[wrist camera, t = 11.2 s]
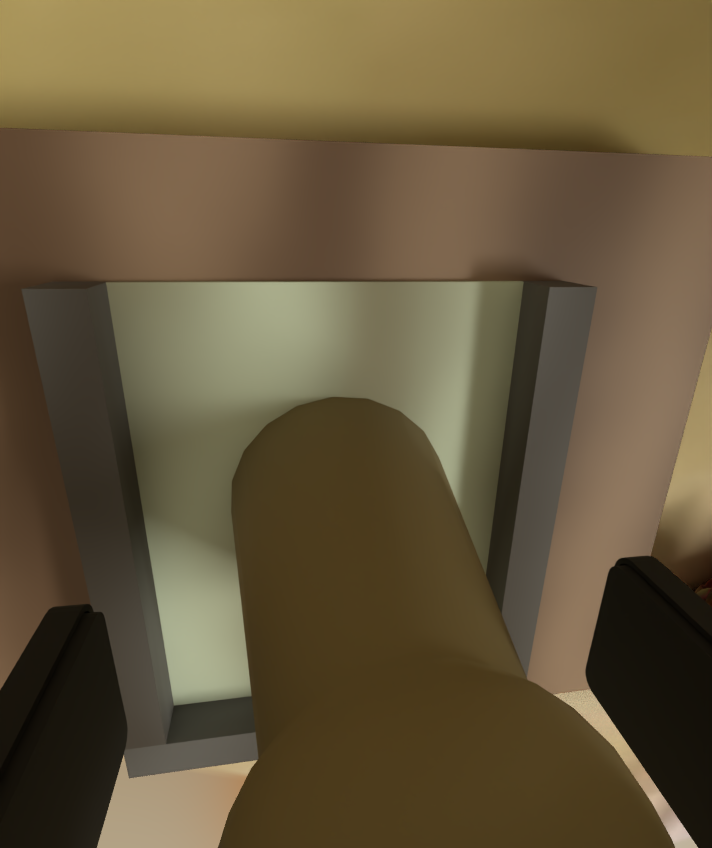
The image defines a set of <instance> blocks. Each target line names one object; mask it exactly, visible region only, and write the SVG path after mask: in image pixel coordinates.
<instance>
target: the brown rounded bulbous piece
mask: <svg viewBox="0 0 712 848" xmlns="http://www.w3.org/2000/svg"><path fill="white" fill-rule="evenodd" d="M231 515H232V524H233V533H234V542H235V551H236V560H237V569H238V578H239V587H240V596H241V605H242V614H243V623H244V632H245V641H246V650H247V659H248V668H249V677H250V686H251V695H252V704H253V713H254V722H255V731H256V740H257V750H258V761H257V762H256V763H255V764H254V766H253V767H252V768H251V770H250V772H249V774H248V776H247V778H246V780H245V782H244V784H243V786H242V788H241V790H240V792H239V794H238V796H237V798H236V800H235V802H234V804H233V806H232V808H231V810H230V812H229V815H228V818H227V821H226V824H225V827H224V830H223V834H222V837H221V840H220V843H219V846H218V848H675V846H674V844H673V842H672V839H671V837H670V835H669V834H668V832H667V830H666V828H665V826H664V825H663V823H662V821H661V819H660V817H659V815H658V814H657V812H656V810H655V808H654V806H653V804H652V803H651V801H650V800H649V798H648V797H647V795H646V794H645V792H644V791H643V789H642V788H641V786H640V785H639V783H638V782H637V781H636V779H635V778H634V776H633V775H632V773H631V772H630V770H629V769H628V767H627V766H626V764H625V763H624V761H623V760H622V758H621V757H620V756H619V754H618V753H617V751H616V750H615V748H614V747H613V746H612V745H611V744H610V743H609V742H608V741H607V740H606V739H605V738H604V737H603V736H602V735H601V734H600V733H599V732H598V731H597V730H596V729H594V728H593V727H592V726H591V725H590V724H589V723H588V722H587V721H586V720H585V719H584V718H583V717H582V716H581V715H580V714H579V713H578V712H577V711H576V710H575V709H574V708H572V707H571V706H569V705H568V704H566V703H565V702H563V701H562V700H560V699H559V698H557V697H556V696H554V695H553V694H551V693H550V692H548V691H547V690H545V689H544V688H542V687H541V686H539V685H538V684H536V683H534V682H531V681H529V680H527V677H526V675H525V672H524V670H523V667H522V665H521V662H520V659H519V657H518V654H517V652H516V649H515V647H514V644H513V642H512V639H511V637H510V634H509V632H508V629H507V627H506V624H505V622H504V619H503V617H502V614H501V612H500V609H499V607H498V604H497V602H496V599H495V597H494V594H493V592H492V589H491V587H490V584H489V582H488V579H487V577H486V574H485V572H484V569H483V567H482V564H481V562H480V559H479V557H478V554H477V552H476V549H475V547H474V544H473V542H472V539H471V537H470V534H469V532H468V529H467V527H466V524H465V522H464V519H463V517H462V514H461V512H460V509H459V507H458V504H457V502H456V499H455V497H454V494H453V491H452V489H451V486H450V484H449V481H448V479H447V476H446V474H445V471H444V469H443V466H442V464H441V461H440V459H439V457H438V455H437V453H436V451H435V450H434V448H433V446H432V444H431V443H430V441H429V439H428V437H427V436H426V434H425V432H424V431H423V430H422V429H421V428H420V427H418V426H417V425H416V424H415V423H414V422H413V421H411V420H410V419H409V418H408V417H407V416H405V415H404V414H403V413H402V412H401V411H399V410H396V409H394V408H391V407H389V406H386V405H383V404H381V403H378V402H376V401H373V400H370V399H364V398H345V397H330V398H326V399H322V400H318V401H314V402H310V403H306V404H302V405H299V406H296V407H295V408H293V409H291V410H290V411H288V412H286V413H285V414H283V415H281V416H280V417H278V418H276V419H275V420H273V421H272V422H270V423H268V424H267V425H266V426H265V427H264V428H263V429H262V430H261V431H260V433H259V434H258V435H257V436H256V437H255V438H254V440H253V441H252V442H251V443H250V444H249V445H248V447H247V448H246V449H245V450H244V452H243V454H242V457H241V459H240V462H239V464H238V467H237V469H236V472H235V474H234V477H233V479H232V497H231Z"/></svg>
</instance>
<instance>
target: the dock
mask: <svg viewBox="0 0 712 848" xmlns="http://www.w3.org/2000/svg"><path fill="white" fill-rule="evenodd" d="M711 328H712V157H706V156H681V155H656V154H632V153H607V152H583V151H558V150H534V149H509V148H484V147H460V146H435V145H411V144H386V143H362V142H337V141H313V140H288V139H263V138H239V137H214V136H190V135H165V134H141V133H116V132H92V131H67V130H42V129H18V128H0V690H1V688H2V686H3V685H4V683H5V681H6V680H7V678H8V676H9V675H10V673H11V671H12V669H13V668H14V666H15V664H16V663H17V661H18V659H19V658H20V656H21V654H22V653H23V651H24V649H25V648H26V646H27V644H28V643H29V641H30V639H31V638H32V636H33V634H34V632H35V631H36V629H37V627H38V626H39V624H40V622H41V621H42V619H43V617H44V616H45V614H46V613H47V611H48V610H49V609H50V608H52V607H56V606H68V605H80V604H90V605H91V606H92V608H93V611H94V612H102V613H103V614H104V617H105V621H106V626H107V630H108V635H109V640H110V644H111V649H112V654H113V659H114V663H115V668H116V673H117V677H118V682H119V687H120V692H121V696H122V701H123V706H124V710H125V715H126V720H127V726H128V733H127V742H126V747H125V751H124V757H125V762H126V766H127V770H128V775H129V778H134V777H141V776H148V775H155V774H161V773H169V772H175V771H183V770H190V769H197V768H204V767H211V766H218V765H225V764H232V763H239V762H246V761H253V760H258V750H257V740H256V731H255V722H254V713H253V704H252V695H251V686H250V677H249V668H248V659H247V650H246V641H245V632H244V623H243V614H242V605H241V596H240V587H239V578H238V569H237V560H236V551H235V542H234V533H233V524H232V515H231V497H232V479H233V477H234V474H235V472H236V469H237V467H238V464H239V462H240V459H241V457H242V454H243V452H244V450H245V449H246V448H247V447H248V445H249V444H250V443H251V442H252V441H253V440H254V438H255V437H256V436H257V435H258V434H259V433H260V431H261V430H262V429H263V428H264V427H265V426H266V425H267V424H268V423H270V422H272V421H273V420H275V419H276V418H278V417H280V416H281V415H283V414H285V413H286V412H288V411H290V410H291V409H293V408H295V407H296V406H299V405H302V404H306V403H310V402H314V401H318V400H322V399H326V398H330V397H345V398H364V399H370V400H373V401H376V402H378V403H381V404H383V405H386V406H389V407H391V408H394V409H396V410H399V411H401V412H402V413H403V414H404V415H405V416H407V417H408V418H409V419H410V420H411V421H413V422H414V423H415V424H416V425H417V426H418V427H420V428H421V429H422V430H423V431H424V432H425V434H426V436H427V437H428V439H429V441H430V443H431V444H432V446H433V448H434V450H435V451H436V453H437V455H438V457H439V459H440V461H441V464H442V466H443V469H444V471H445V474H446V476H447V479H448V481H449V484H450V486H451V489H452V491H453V494H454V497H455V499H456V502H457V504H458V507H459V509H460V512H461V514H462V517H463V519H464V522H465V524H466V527H467V529H468V532H469V534H470V537H471V539H472V542H473V544H474V547H475V549H476V552H477V554H478V557H479V559H480V562H481V564H482V567H483V569H484V572H485V574H486V577H487V579H488V582H489V584H490V587H491V589H492V592H493V594H494V597H495V599H496V602H497V604H498V607H499V609H500V612H501V614H502V617H503V619H504V622H505V624H506V627H507V629H508V632H509V634H510V637H511V639H512V642H513V644H514V647H515V649H516V652H517V654H518V657H519V659H520V662H521V665H522V667H523V670H524V672H525V675H526V677H527V680H529V681H531V682H534V683H536V684H538V685H539V686H541V687H542V688H544V689H545V690H547V691H548V692H550V693H551V694H557V693H565V692H572V691H580V690H587V689H590V687H589V685H588V683H587V679H586V674H585V669H586V664H587V660H588V656H589V651H590V647H591V643H592V639H593V635H594V630H595V626H596V622H597V618H598V614H599V609H600V605H601V601H602V597H603V593H604V588H605V584H606V580H607V576H608V572H609V570H610V568H611V567H613V566H615V563H616V561H617V560H618V559H620V558H624V557H636V556H651V552H652V548H653V545H654V541H655V537H656V534H657V530H658V526H659V522H660V519H661V515H662V511H663V507H664V504H665V500H666V496H667V493H668V489H669V485H670V481H671V478H672V474H673V470H674V466H675V463H676V459H677V455H678V451H679V448H680V444H681V440H682V437H683V433H684V429H685V425H686V422H687V418H688V414H689V410H690V407H691V403H692V399H693V396H694V392H695V388H696V384H697V381H698V377H699V373H700V369H701V366H702V362H703V358H704V354H705V351H706V347H707V343H708V340H709V336H710V332H711Z"/></svg>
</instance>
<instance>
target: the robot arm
mask: <svg viewBox="0 0 712 848" xmlns="http://www.w3.org/2000/svg"><path fill="white" fill-rule="evenodd" d="M585 674H586V679H587V683H588V685H589V687H590V689H591V691H592V692H593V694H594V695H595V697H596V698H597V700H598V701H599V703H600V704H601V706H602V707H603V709H604V710H605V711H606V713H607V714H608V716H609V717H610V719H611V720H612V722H613V723H614V725H615V726H616V728H617V729H618V731H619V732H620V733H621V735H622V736H623V738H624V739H625V741H626V742H627V744H628V745H629V747H630V748H631V750H632V751H633V753H634V754H635V755H636V757H637V758H638V760H639V761H640V763H641V764H642V766H643V767H644V769H645V770H646V772H647V773H648V775H649V776H650V778H651V779H652V780H653V782H654V783H655V785H656V786H657V788H658V789H659V791H660V792H661V794H662V795H663V797H664V798H665V800H666V801H667V802H668V804H669V805H670V807H671V808H672V810H673V811H674V813H675V814H676V816H677V817H678V819H679V820H680V822H681V823H682V824H683V826H684V827H685V829H686V830H687V832H688V833H689V835H690V836H691V838H692V839H693V841H694V842H695V844H696V845H697V847H698V848H712V607H711V606H710V605H709V604H708V603H707V602H705V601H704V600H703V599H702V598H701V597H700V596H699V595H697V594H696V593H695V592H694V591H693V590H692V589H690V588H689V587H688V586H687V585H686V584H685V583H684V582H682V581H681V580H680V579H679V578H678V577H677V576H676V575H674V574H673V573H672V572H671V571H670V570H669V569H668V568H666V567H665V566H664V565H663V564H662V563H661V562H659V561H658V560H657V559H656V558H654V557H652V556H636V557H624V558H620V559H618V560H617V561H616V563H615V566H613V567H611V568H610V570H609V572H608V576H607V580H606V584H605V588H604V593H603V597H602V601H601V605H600V609H599V614H598V618H597V622H596V626H595V630H594V635H593V639H592V643H591V647H590V651H589V656H588V660H587V664H586V669H585ZM127 733H128V726H127V720H126V715H125V710H124V706H123V701H122V696H121V692H120V687H119V682H118V677H117V673H116V668H115V663H114V659H113V654H112V649H111V644H110V640H109V635H108V630H107V626H106V621H105V617H104V614H103V613H102V612H94V611H93V608H92V606H91V605H90V604H80V605H68V606H56V607H52V608H50V609H49V610H48V611H47V613H46V614H45V616H44V617H43V619H42V621H41V622H40V624H39V626H38V627H37V629H36V631H35V632H34V634H33V636H32V638H31V639H30V641H29V643H28V644H27V646H26V648H25V649H24V651H23V653H22V654H21V656H20V658H19V659H18V661H17V663H16V664H15V666H14V668H13V669H12V671H11V673H10V675H9V676H8V678H7V680H6V681H5V683H4V685H3V686H2V688H1V690H0V848H97V845H98V841H99V838H100V834H101V831H102V827H103V824H104V821H105V817H106V814H107V810H108V807H109V803H110V800H111V796H112V793H113V789H114V786H115V782H116V779H117V775H118V772H119V768H120V765H121V762H122V758H123V755H124V751H125V747H126V742H127Z"/></svg>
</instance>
